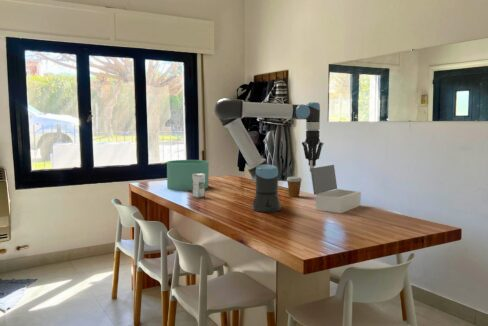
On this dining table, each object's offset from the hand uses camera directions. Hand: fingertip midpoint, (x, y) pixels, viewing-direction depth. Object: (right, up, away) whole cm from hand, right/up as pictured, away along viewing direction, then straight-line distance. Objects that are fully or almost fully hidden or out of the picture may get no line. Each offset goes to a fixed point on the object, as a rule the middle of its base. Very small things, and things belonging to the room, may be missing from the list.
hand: (311, 171), depth 234 cm
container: (-79, -13, +63) cm, 102 cm away
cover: (+7, -4, -5) cm, 9 cm away
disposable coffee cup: (-7, -16, +27) cm, 32 cm away
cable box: (+13, -20, -9) cm, 25 cm away
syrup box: (-67, -16, +23) cm, 73 cm away
